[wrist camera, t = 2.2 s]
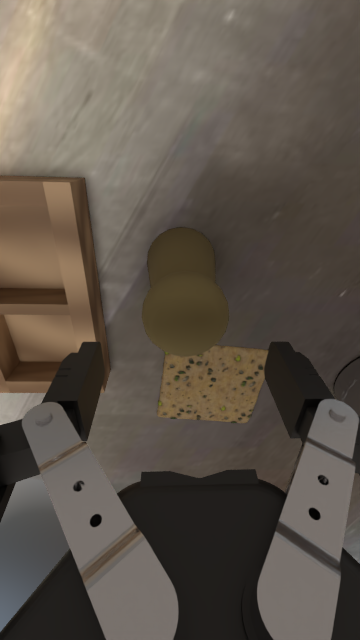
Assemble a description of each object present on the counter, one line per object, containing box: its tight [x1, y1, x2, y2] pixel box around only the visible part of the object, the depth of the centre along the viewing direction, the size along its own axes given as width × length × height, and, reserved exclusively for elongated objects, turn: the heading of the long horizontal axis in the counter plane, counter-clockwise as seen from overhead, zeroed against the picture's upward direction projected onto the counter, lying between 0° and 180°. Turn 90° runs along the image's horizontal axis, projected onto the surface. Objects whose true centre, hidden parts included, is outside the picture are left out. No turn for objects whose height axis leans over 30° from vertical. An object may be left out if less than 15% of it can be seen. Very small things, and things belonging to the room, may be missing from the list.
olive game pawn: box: [142, 227, 229, 357], centre depth 20 cm, size 6×6×11 cm
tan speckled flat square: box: [157, 345, 268, 423], centre depth 33 cm, size 12×12×1 cm
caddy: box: [0, 176, 111, 393], centre depth 24 cm, size 19×11×4 cm, turn 179°
